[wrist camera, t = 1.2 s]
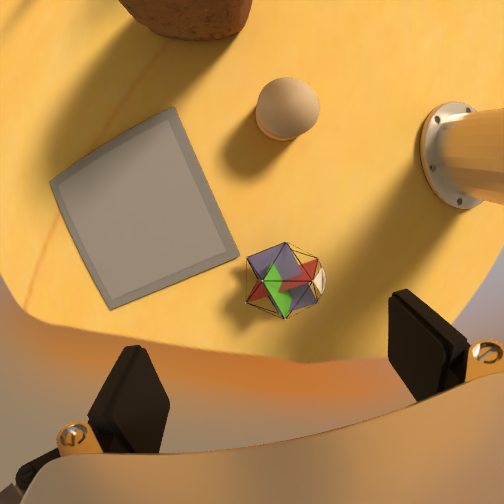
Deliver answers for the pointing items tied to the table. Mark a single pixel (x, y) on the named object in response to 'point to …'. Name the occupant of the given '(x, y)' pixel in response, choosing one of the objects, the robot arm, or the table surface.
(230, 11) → the block
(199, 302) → the table surface
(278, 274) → the geometric puzzle
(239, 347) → the table surface
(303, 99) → the tan rounded cylinder
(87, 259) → the felt mat
